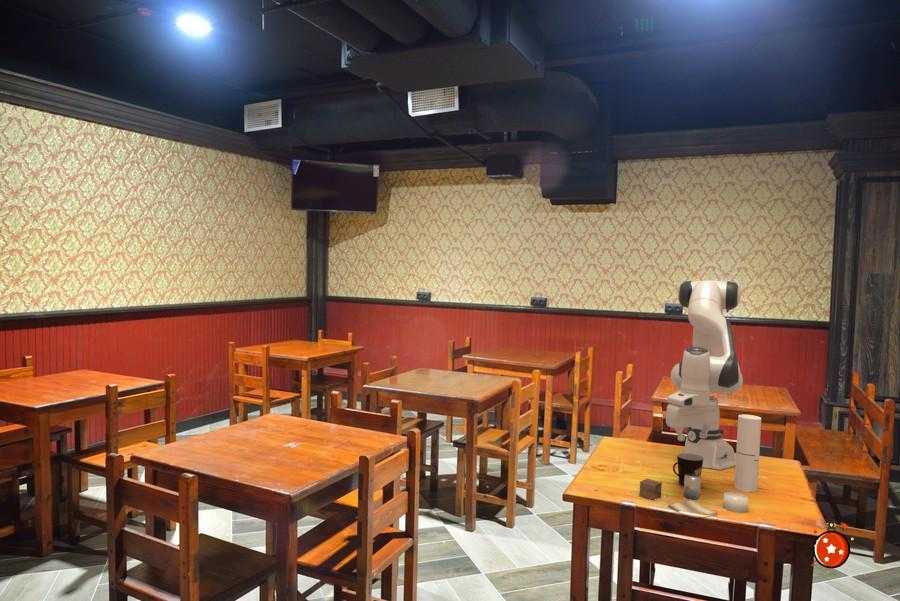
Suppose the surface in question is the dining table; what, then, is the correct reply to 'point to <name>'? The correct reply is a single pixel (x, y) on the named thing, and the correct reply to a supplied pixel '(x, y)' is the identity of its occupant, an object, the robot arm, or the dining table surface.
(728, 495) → the white rounded block
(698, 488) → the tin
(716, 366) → the robot arm
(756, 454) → the cylindrical container
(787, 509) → the dining table surface
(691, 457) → the coffee mug
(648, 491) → the walnut block
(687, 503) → the wavy beige sheet
